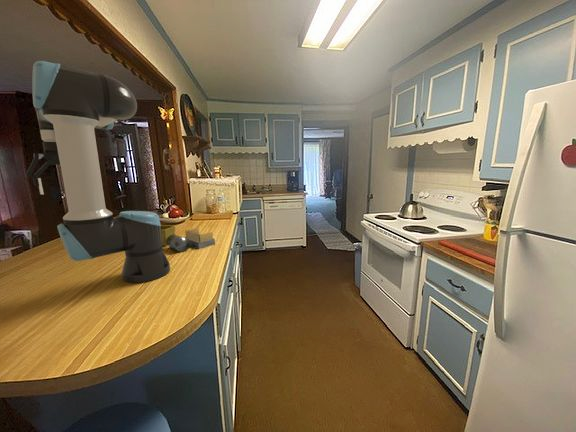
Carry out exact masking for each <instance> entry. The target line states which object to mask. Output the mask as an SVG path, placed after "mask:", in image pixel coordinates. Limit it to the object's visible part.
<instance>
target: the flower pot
mask: <svg viewBox="0 0 576 432" xmlns="http://www.w3.org/2000/svg"><path fill="white" fill-rule="evenodd" d="M170 235H176V225H162V224H161V236H162V246H163V247H166V246H168V245H167V244H166V240H167V238H168V237H169V236H170Z"/></svg>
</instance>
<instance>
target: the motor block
mask: <svg viewBox="0 0 576 432" xmlns="http://www.w3.org/2000/svg"><path fill="white" fill-rule="evenodd" d="M199 231H200V230H199V228H198V227H196V228H193V229H191V228H190V229H186V230H185V231H184V235H185V237H182V236H180V235H177V234H175V235H170V236H169V237H168V238H167V240H166V244H167V245H166V246H168V247H169V248H171V249H173V250H175V251H177V252H180V253H183V252H186V251H188V250H189V249H190V248H195V249H197V250H200V249H204V248H208V247H211V246H215V245H216V241H215V240H216V239H215V238H214V236H213V235H214V234H213V233H214V232H212V231H211V232H207V233H206V232H205V233H202V234H201V233H200V232H199Z"/></svg>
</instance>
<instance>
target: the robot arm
mask: <svg viewBox="0 0 576 432" xmlns="http://www.w3.org/2000/svg"><path fill="white" fill-rule="evenodd" d="M31 78H32V79H31V80H32V81H31V83H32V84H31V85H32V86H31V89H32V91H31V93H32V104H33V107H34V110H35V112H36V118H37V121H38V125H39V133H40V138H41V140H42V141H43V142H42V143H41V144H42V148H43V154H42V153H38V152H34V153H33V159H32V162H31V164H30V165H29V167H28V169H27V171H26V172H25V176H26V177H28V178H32V179H33V185H34V186H35V187H38V189H39V195H45V193H44V188H43V184H42V178H41V177H40V175H42V174H43V173H44V172H45V170H46V169H48V167H49V166H50V165H54V166H57V165H59V166H60V170H61V174H62V175H61V176H62V181H63V187H64V192H65V196H66V197H65V198H66V202H67V208H68V212H67V213H66V214H64V216H63V217H62V221H63V223H60V224H58V225H57V226H56V227H57V228H56V229H57V231H58V234H59V236H60V240H61V242H62V244H63V247H64V249H65V251H66V253H67V255H68V257H69V258H70V260H72V261H75V262H80V261H85V260H94V259H95V258H100V257H101V258H102V257H104V256H109V255H112V254H118V253H122V252H124V255H125V258H124V263H123V266H122V270H121V277H122V280H123V281H124V282H126V283H131V284H133V283H134V284H136V283H138V284H139V283H144V282H145V283H146V282H151V281H155V280H157V279H160V278H162V277H164V276H166V275H168V274H169V272H171V265H170V261H169V259H168V257H167V255H166V254H165V251H164V246H162V236H161V225H162V224H161V220H160V217H159V214H158V213H157V212H154V211H147V210H124V211H120V212H119V216H118V217H117V216H116V217H114V213H113V212H112V211H111V210H109V209H107V207H106V201H105V195H104V189H103V187H104V186H103V182H102V181H103V180H102V174H101V167H100V161H99V154H98V147H97V141H96V139H97V138H96V132H95V129H99V130H109V131H110V130H112V129H113V128H114V122H116V121H126V120H129V119H131V118H133V117H134V116H135V115H136V113H137V111H138V102H137V99H136V97H135V94H134V93H133V92H132V91H131V90H130V89H129V88H128V86H126V85H125V84H123V83H122V82H121V81H119V80H117V79H115V78H114V77H111V76H109V75H104V74H100V73H96V72H92V71H88V70H85V69H81V68H76V67H72V66H70V65H65V64H61V63H56V62H55V63H54V62H49V61H45V60H37V61H35V62H34V63H33V66H32V76H31ZM42 158H44V159H45V160H46V162H45V163H43V164H42V165H41V167H40V168H39V169H38V170H37V171H36V172H35V173H34V174H33V172H34V170H35V168H36V166H37V164H38V162H39V160H41V159H42Z"/></svg>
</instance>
